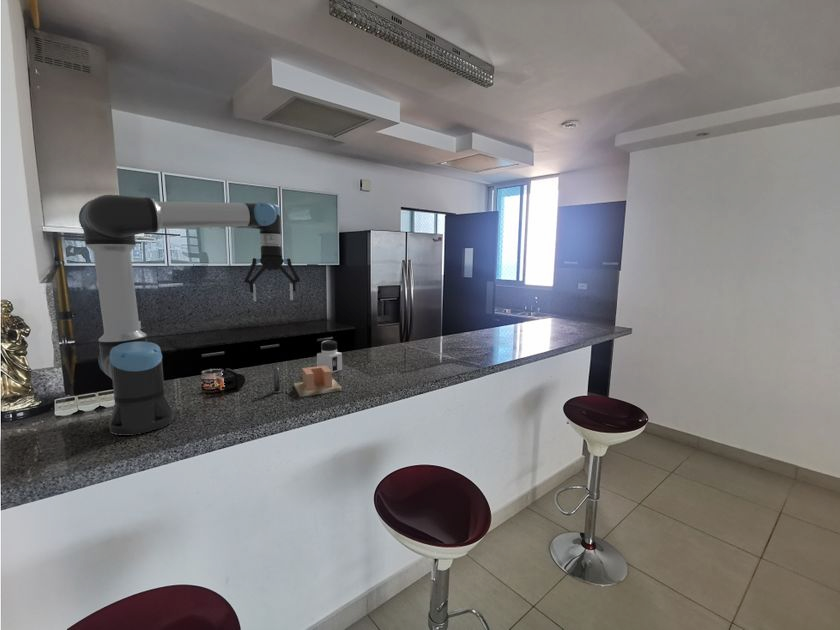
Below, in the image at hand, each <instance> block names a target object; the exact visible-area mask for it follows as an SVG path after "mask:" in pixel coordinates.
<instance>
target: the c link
mask: <svg viewBox="0 0 840 630" xmlns="http://www.w3.org/2000/svg"><path fill="white" fill-rule="evenodd" d="M301 369H302V370H301V373H302V374H301V375H302V382H303V385H304V386H305V388H306V390H307V391H309V390H314V384H319V383H322V384H323V386H324V387H325V388H330V387H332V378H333V373H332V371H331V370H330V369H329V368H328V367H327V366H317V365H316V366H309V367H303V368H301Z"/></svg>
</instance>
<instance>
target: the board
mask: <svg viewBox="0 0 840 630" xmlns="http://www.w3.org/2000/svg"><path fill="white" fill-rule="evenodd" d="M293 387H294V389H295V391H296V393H297V394H298V396H299V397H300V398H302V397H307V396H308V397H309V396H314V395H315V396H316V395H320V394H321V395H323V394H328V393H329V394H330V393H336V392H341V391H343V389H342V388H343V387H342V385H340V384H339V383H338V382H337V381H336V380H335V378H334V377H332V387H330V388H325V387H324V386H323V384H322V383H319V384H314V390H309V391H307V390H306V388H305V386H304V385H303V381H299V382H293Z"/></svg>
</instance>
